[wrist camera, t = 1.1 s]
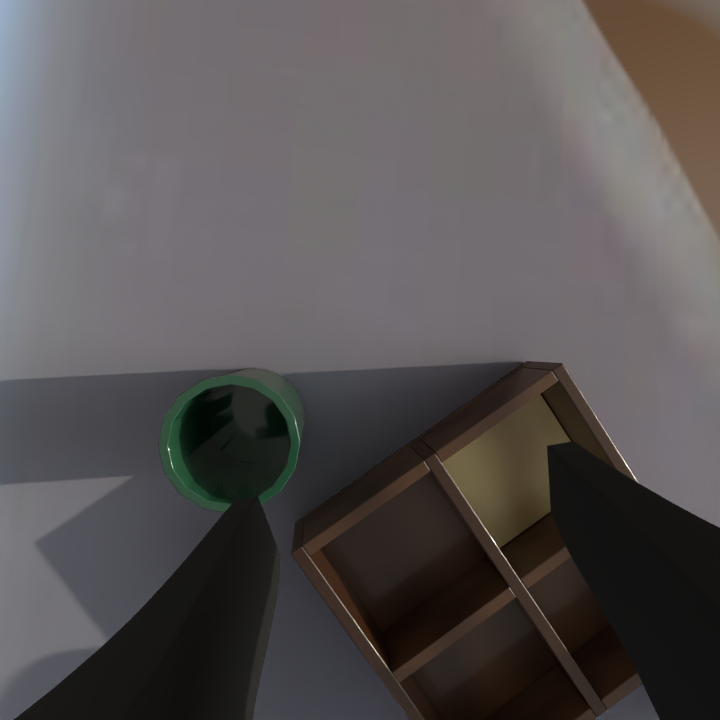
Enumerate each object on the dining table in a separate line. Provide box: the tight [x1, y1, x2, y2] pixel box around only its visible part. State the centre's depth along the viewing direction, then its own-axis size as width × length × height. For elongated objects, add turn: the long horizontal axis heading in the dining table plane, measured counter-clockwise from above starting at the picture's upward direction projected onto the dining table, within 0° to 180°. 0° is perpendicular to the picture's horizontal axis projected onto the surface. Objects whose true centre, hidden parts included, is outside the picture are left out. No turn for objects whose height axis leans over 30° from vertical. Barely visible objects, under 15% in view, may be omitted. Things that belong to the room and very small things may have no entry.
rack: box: [291, 361, 642, 720], centre depth 23 cm, size 15×15×4 cm
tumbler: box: [158, 368, 305, 512], centre depth 20 cm, size 5×5×6 cm
